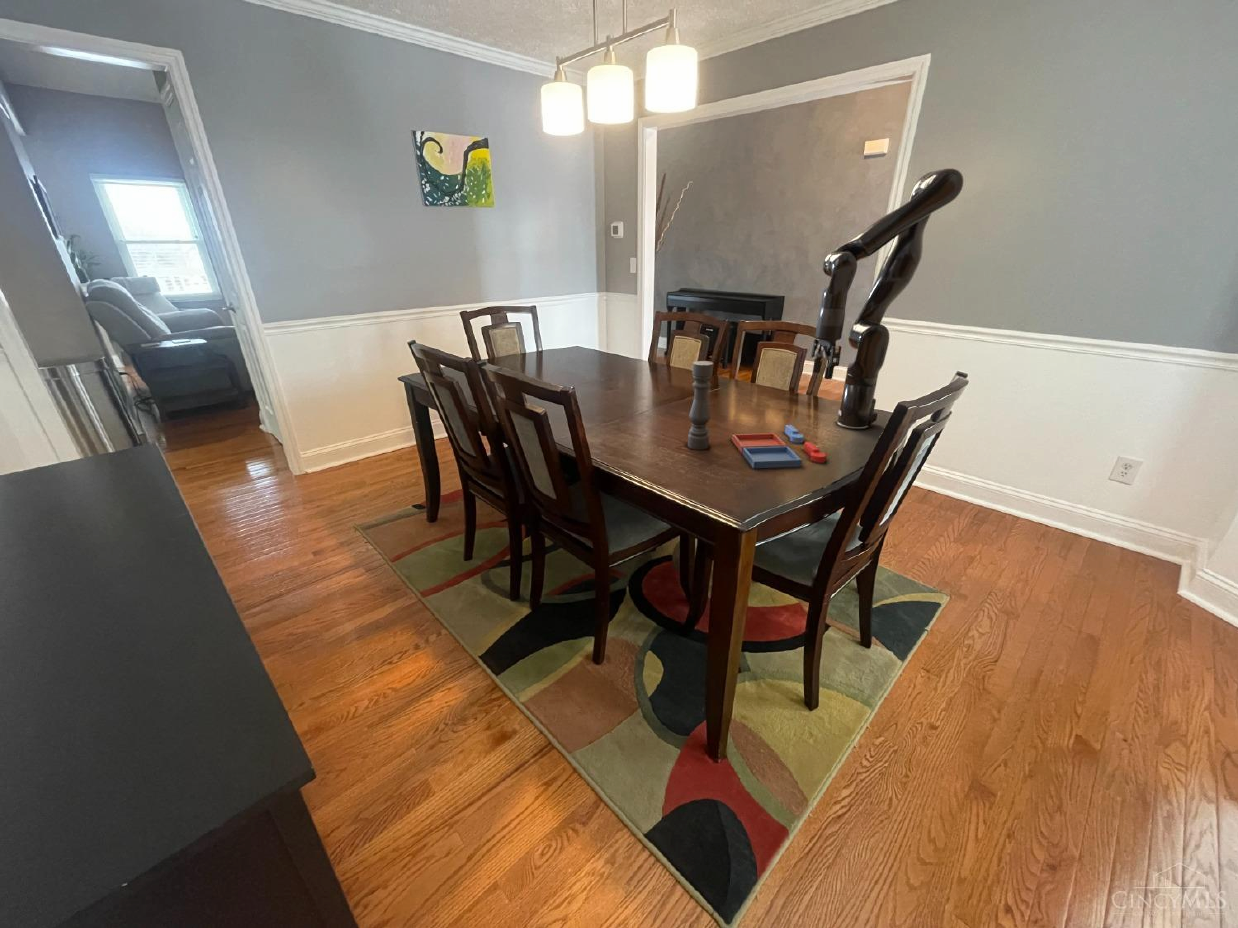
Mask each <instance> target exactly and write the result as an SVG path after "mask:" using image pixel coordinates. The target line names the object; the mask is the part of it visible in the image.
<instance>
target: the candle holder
mask: <svg viewBox="0 0 1238 928" xmlns="http://www.w3.org/2000/svg"><path fill="white" fill-rule="evenodd" d="M713 366H714V363H713V362H712V361H708V360H697V361H693V362H692V372H691V373H692V378H693V380H694V381H693V382H692V387H693V389H694V392H693V393H694V395H693V401H692V404H691V408H690V411H689V415H688V417H689V421H690V422H691V427H690V428H689V431H688V432H689V433H688V435H687V447H688V448H689V449H692V450H699V451H701V450H706V449H708V448H709V443H710V442H709V441H710V440H709V439H710V435H709V429H708V427H707V426H708V423H709V422H710V419H711V412H710V407H709V401H708V400H709V399H708V395H709V389H710V388H711V386H712V384H711V383H710V380H711V378H712V375H713V369H714V367H713Z"/></svg>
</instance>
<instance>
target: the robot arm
mask: <svg viewBox="0 0 1238 928" xmlns="http://www.w3.org/2000/svg"><path fill="white" fill-rule="evenodd" d="M963 187H964V175H963V174H962V173H961V171H959V169H955V168H951V167H950V168H943V169H942V168H941V169H937V170H932V171H929V172H926V173H925V174H923V175H921V177H920V178H919V179H918V180H917V181H916V183H915V185H914V187H913V188H912V191H911V194H910V196H909V200H908V201H907V202H906V203H904V204H902V205H901V206H900V207H898V208H897V209H895V210H893V211H891V212H889V213H888V214H886V215H883V216H881V218H879V219H877V220H876V221H875V222H873V223H871V224H870V225H869V226H868V227H866V228H865V229H864V230H862V232H860V233H859V234H858V235H857V236H855V237H854V238H851V240H849V241H847V242H845V243H844V244H842V245H840V246H839V247H836V249H834V250H832V251H831V252H830V253H828V255H827V256H826V257H825V258H824V260H823V263H822V271H823V273H824V274H825V275H826V276H828V277H830V281H829V283H828V286H826V287H825V288H824V289H823V291H822V296H821V301H820V307H819V311H818V314H817V321H816V328H815V334H814V337H815V338H814V339H813V343H812V350H811V355H810V358H812V360H813V365H812V372H813V373H814V374H819V373H820V372H821V368H822V363H823V361H825V371H824V372H825V373H824V379H825V380H832V379H833V376H834V369H835V368H836V367H839V366H840V361H841V352H842V346H841V345H837V341H840V340H841V339H842V337H843V331H844V324H845V317H846V308H847V301H848V294H849V292H850V289H851V287H852V284H853V282H854V279H855V277H856V274H857V269H858V262H859V261H861V260H865V259H868V258H870V257H871V256H873V255H875V254H876V253H877V252H878V251H880V250H881V249H882V248H884V247H885V246H886V245H887V244H889V243H891V241H892V240H893V241H892V243H891V246H890V248H889V249H888V252H887V254H886V256H885V258H884V260H883V262H882V265H881V267H880V269H879V272H878V274H877V277H876V279H875V281H874V284H873V286H872V287H871V290H870V292H869V294H868V297H867V299H866V301H865V303H864V305H863V307H862V309H861V310H860V312H859V314H858V315H857V318H856V319H855V321H854V322H853V324H852V326H851V328H850V330H849V333H848V344H849V346H850V347H851V348H852V349H853V350H855V351H857V352H856V355H855V360H854V361H853V362H850V363H849V364H848V365H847V367H846V373H845V379H844V385H843V390H842V395H841V401H840V406H839V409H838V412H837V413H838V417H837V422H836V424H837V425H838V426H840V427H842V428H845V429H848V430H866V429H870V428H871V426H872V424H873V423H875V422H876V421H877V419H878V415H879V413H878V412H875V407H876V402H877V400H876V398H875V393H876V387H877V384H878V383H877V382H878V378H879V373H880V372H881V369H882V368H883V366H884V363H885V359H886V356H887V352H888V348H889V343H890V331H889V329H888V328H887V326H886V325H884V324H882V321H883V319H884V316H885V314H886V313H887V310H888V309H889V307H890V306H891V305H892V304H893V303H894V301H895V300H896V299H897V298H898V297H899V296H900V295H901V294H902V293H903V292H904V291H905V290H906V288H908V286H909V285H910V283H911V282H912V280H913V278H914V276H915V274H916V272H917V270H918V267H919V265H920V263H921V261H922V256H923V248H924V233H925V229H926V226H927V224H928V222H929V220H930V218H931V215H932V214H933V213H934V212H936V211H938V210H940V209H942V208H944V207H945V206H947V205H948V204H951V203H953V202H954V201H955V200H956V199H957V198H958V196H960V194H961V192H962V190H963ZM822 360H823V361H822Z"/></svg>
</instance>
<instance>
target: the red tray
mask: <svg viewBox="0 0 1238 928" xmlns="http://www.w3.org/2000/svg"><path fill="white" fill-rule="evenodd" d="M731 441H732V443H733V444H734V445H735V447H736V448H737V449H738V450H739V452H740V453H741V454H742V453H743V448H749V447H781V446H788V445H787V444H786V442H784V441H783V440H782V438H780V437H779V436H778V435H777V434H776V433H775V432H771V433H770V432H767V433H765V432H764V433H737V434H734V433H733V434H732V437H731Z"/></svg>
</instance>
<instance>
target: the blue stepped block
mask: <svg viewBox="0 0 1238 928" xmlns="http://www.w3.org/2000/svg"><path fill="white" fill-rule="evenodd" d="M799 432H800V431H799V430H798V429H797V428H795V427H794V426H793V425H792V424H786V425H785V428H784V434H785V435H787V436H788V438H790V439H789V441H790V442H791V443H795V444H801V443H803V442H804V439H805V436H804V435H803V434H802V433H799Z"/></svg>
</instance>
